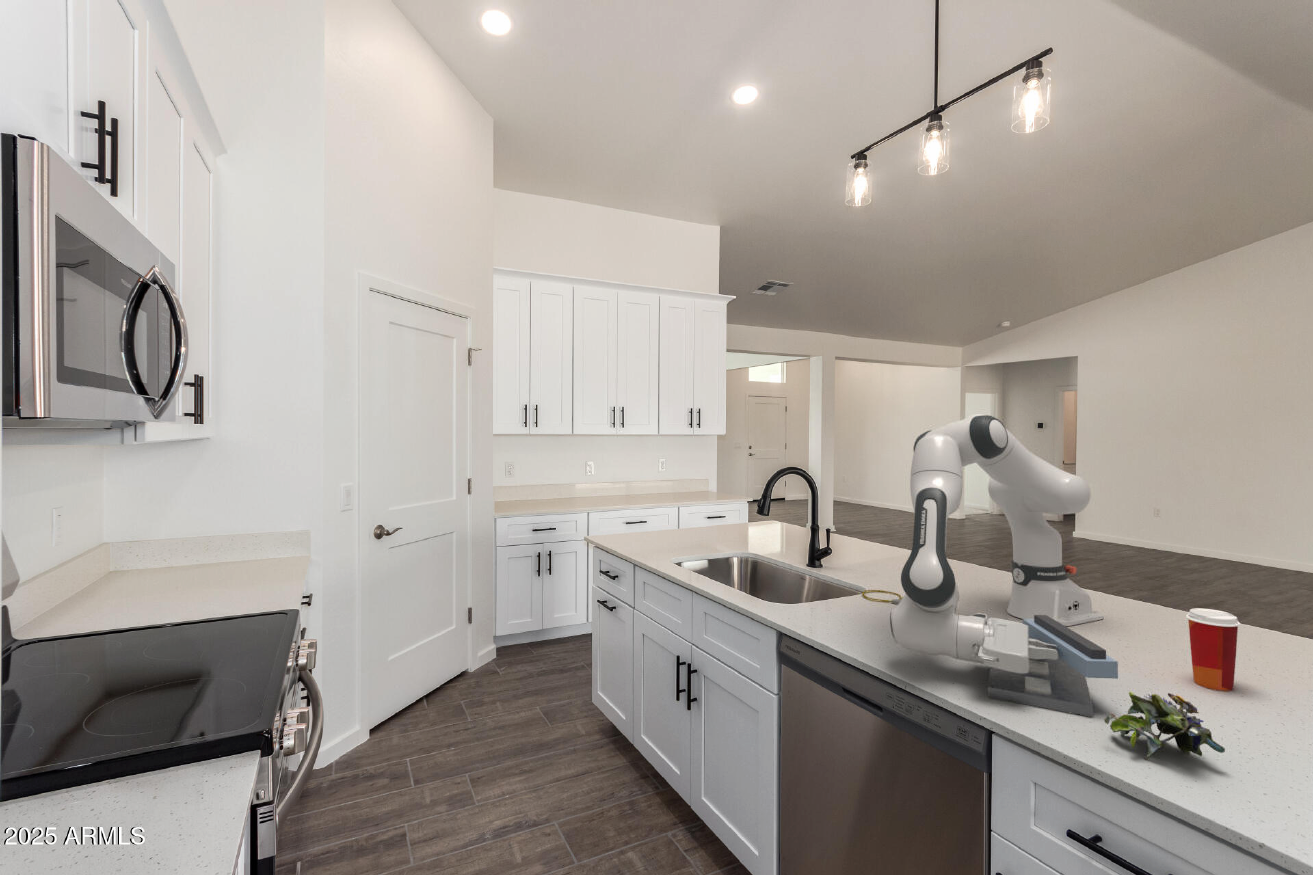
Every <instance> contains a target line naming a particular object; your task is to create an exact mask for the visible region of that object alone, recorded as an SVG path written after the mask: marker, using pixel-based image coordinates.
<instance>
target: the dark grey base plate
mask: <svg viewBox="0 0 1313 875" xmlns="http://www.w3.org/2000/svg"><path fill="white" fill-rule="evenodd" d="M989 667H990V666H989ZM988 675H989V676H988V681H987V682H988V683H987V698H990V699H994V700H1000V701H1004V702H1005V701H1006V702H1009V701H1011V702H1010V703H1014V704H1015V703H1016V704H1020V705H1021V704H1022V705H1025V704H1026V706H1031V707H1035V706H1037V707H1036V708H1040V707H1041V708H1042V709H1046V708H1048V709H1047V710H1051V709H1052V710H1053V711H1056V710H1059V711H1058V712H1061V711H1063V712H1062V713H1066V712H1071V713H1073V714H1072V715H1077V714H1080V715H1079V716H1082V715H1084V716H1083V717H1087V716H1089V718H1092V717H1093V718H1094V706H1093V702H1092V698H1091V694H1090V693H1091V692H1090V691H1089V685H1088V682H1087V677H1085V676H1084V675H1083V674H1081V673H1080V672H1078V671H1077V670H1075V669H1074V668H1072V667H1071V666H1070V665H1068V664H1067V663H1065V662H1064V661H1062V660H1061V659H1060V658H1058V659H1057V660H1053V659H1047V658H1046V659H1031V658H1029V671H1028V673H1022V674H1021V673H1015V672H1010V671H1006V670H1001V669H997V668H993V667H990V669H989V674H988ZM1071 713H1070V714H1071Z"/></svg>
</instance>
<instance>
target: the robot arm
mask: <svg viewBox="0 0 1313 875" xmlns="http://www.w3.org/2000/svg"><path fill="white" fill-rule="evenodd" d="M973 464H977V465H978V466H979V468H981V469H982V471H984V472H985V473H986V474H987V475H988V476H989V477H990V480H989V481H988V487H987V489H988V490H987V491H988V495H989V497H990V499H991V501H993V502H994V503H995V504H996V505H997V506H998V507H999V508H1000V509H1001V511H1002V512H1003V514H1004V516H1005V518H1006V520H1007V522H1008V524H1009V525H1008V526H1009V528H1010V531H1011V536H1012V538H1011V539H1012V557H1013V558H1012V561H1011V572H1010V573H1011V577H1012V583H1011V591H1010V598H1009V602H1008V606H1007V609H1006V612H1007V613H1008V614H1009V615H1011V616H1012V617H1016V618H1019V619H1021V620H1023V619H1034V615H1047V616H1049V617H1050V618H1052V619H1054V620H1055V621H1057V622H1059V623H1061V624H1062V625H1064V626H1066V627H1071V626H1075V625H1080V624H1085V623H1091V622H1095V621H1100V620H1104V614H1103V613H1102V612H1099V611H1097V610H1095V609H1093V604H1092V600H1091V595H1089V593H1088V592H1087V591H1086V590H1084V589H1083V588H1082V587H1080V586H1079V585H1078V584H1076V583H1075V582H1074V581H1072V579H1070V578H1069V575H1068V574H1071V575H1075V574H1076V573H1077V571H1078V570H1077V567H1076V566H1073V565H1069V564H1068V565H1066V566H1065V565H1064V564H1063V546H1062V545H1063V539H1062V536H1061V534H1060V533H1059V532H1058V530H1057V529H1056V528H1054V527H1052V526H1051V525H1050V524H1049V522H1048V521H1047V520H1046V518H1045V516H1044V513H1045V514H1052V515H1053V514H1054V515H1071V514H1079V513H1081V512H1082V511H1084V510H1085V509H1086V508H1087V506H1088V505H1089V503H1090V500H1091V489H1090V486H1089V484H1088V483H1087V481H1086V480H1085V479H1084V478H1083V477H1081V476H1079V475H1076V474H1073V473H1070V472H1068V471H1065V470H1062V469H1061V468H1059V467H1056V466H1055V465H1053V464H1051V463H1050V462H1048V461H1046V460H1044V459H1042V458H1041V457H1039V456H1037V455H1036V454H1034V453H1033V452H1031V451H1030V449H1027V447H1026V446H1025V445H1023V443H1021V442H1020V441H1019V439H1017V438H1016V437H1015V436H1014V435H1013V433H1012V432H1010V430H1008V429H1007V428H1006V426H1005V425H1004V424H1003V422H1002V420H999V419H998V418H997V417H995V416H992V415H989V414H984V413H972V414H971V415H967V416H966V417H965V418H964V419H960V420H956V421H952V422H950V423H948V424H947V423H946V424H945V425H942V426H940V427H936V428H935V429H932V430H931V429H930V430H927V431H925V432H923V433H921V434H920V435H919V436H917V437H916V439H915V441H914V444H913V456H912V460H911V468H910V477H909V478H910V482H909V485H910V488H909V489H910V490H909V491H910V497H911V498H910V500H911V503H912V507H913V512H914V513H913V514H914V520H913V522H914V523H913V533H912V534H913V536H912V545H911V546H912V547H911V550H910V551H911V552H910V554H909V556H908V558H907V560H906V562H905V563H904V566H903V568H902V570H901V573H900V583H901V587H902V589H903V591H904V593H905V594H904V596H902V597H903V598H901V601H900V603H899V604H898V605H897V604H896V606H895V607H894V608H893V609H891V612H890V616H889V624H890V630H891V635H892V637H893V639H894V641H895V642H896V644H898V645H899V646H900V647H902V648H904V649H906V650H910V651H911V652H912V651H913V652H915V653H916V652H918V653H923V654H925V655H930V656H931V655H932V656H941V655H942V656H948V657H950V658H953V659H956V660H960V661H966V662H971V663H976V664H981V665H985V666H987V667H993V668H997V669H1001V670H1006V671H1010V672H1015V673H1021V674H1022V673H1028V671H1029V658H1031V659H1046V658H1047V659H1053V660H1057V659H1058V651H1057V646H1056V645H1053V644H1047V643H1044V642H1041V641H1039V640H1036V639H1030V638H1029V627H1028V626H1027V625H1025V624H1023V622H1018V621H1016V620H1015V621H1014V620H1009V619H1003V618H998V617H988V615H987V613H980V612H977V613H974V614H972V615H962V614H957V613H956V610H957V606H958V603H959V601H960V591H959V586H958V585H957V582H956V577H955V573H954V571H953V568H952V567H951V565H950V563H949V561H948V558H947V554H946V553H947V552H946V550H947V549H946V547H947V524H948V519H949V516H951V515H953V514H954V513H955V512H957V511H958V509H960V504H961V500H962V495H963V488H964V487H963V484H964V483H963V481H964V480H963V477H964V476H963V468H964V467H967V466H969V465H973Z"/></svg>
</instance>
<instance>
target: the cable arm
mask: <svg viewBox="0 0 1313 875" xmlns="http://www.w3.org/2000/svg"><path fill="white" fill-rule="evenodd" d="M1022 624H1025V625H1027V626H1028V627H1029V638H1030V639H1036V640H1039V641H1041V642H1044V643H1047V644H1053V645H1056V646H1057V651H1058V658H1060V659H1061V660H1062V661H1064V662H1065V663H1067V664H1068V665H1070V666H1071V667H1072V668H1074V669H1075V670H1077V671H1078V672H1080V673H1081V674H1083V675H1084V676H1085V677H1086V679H1090V678H1091V679H1092V678H1093V679H1114V680H1116V679H1117V680H1118V679H1119V671H1118V670H1119V663H1118V662H1119V661H1117V660H1116V659H1114V658H1113V657H1111V656H1109V655H1108V654H1107V649H1104V648H1103V647H1102V646H1100V645H1098V644H1096V643H1094V642H1092V641H1091V640H1090V639H1088V638H1086V637H1084V636H1082V635H1081V634H1079V633H1078V632H1076V631H1074V630H1072V629H1071V628H1069V627H1068V626H1064V625H1062V624H1061V623H1059V622H1057V621H1055V620H1054V619H1052V618H1050V617H1049V616H1047V615H1034V619H1022Z"/></svg>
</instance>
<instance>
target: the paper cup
mask: <svg viewBox="0 0 1313 875" xmlns="http://www.w3.org/2000/svg"><path fill="white" fill-rule="evenodd" d="M1185 618H1186V619H1187V620H1188V632H1189V633H1188V634H1189V643H1190V644H1189V645H1190V655H1191V666H1192V667H1191V668H1192V676H1193V681H1194V684H1196V685H1198V686H1200V687H1203V688H1206V689H1209V690H1212V691H1213V690H1214V691H1220V692H1231V691H1233V690H1234V686H1235V685H1234V683H1235V673H1236V658H1237V645H1238V644H1237V643H1238V629H1239V627H1240V626H1241V623H1240V621H1239V620H1238V616H1236V615H1234V614H1232V613H1229V612H1226V611H1222V610H1219V609H1218V610H1217V609H1210V608H1199V607H1197V608H1191V609H1189V611H1188V612H1187V614H1186V615H1185Z"/></svg>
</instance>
